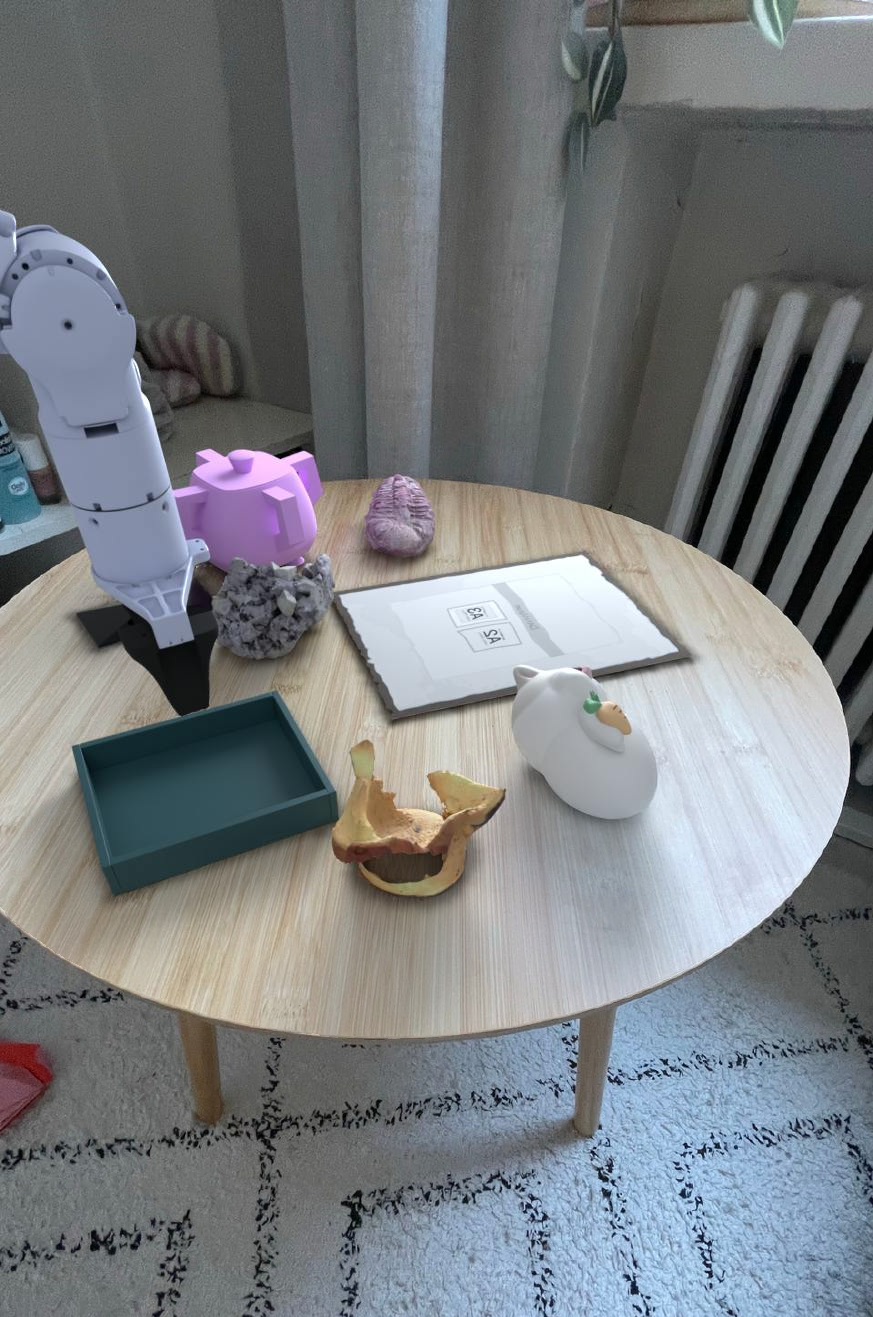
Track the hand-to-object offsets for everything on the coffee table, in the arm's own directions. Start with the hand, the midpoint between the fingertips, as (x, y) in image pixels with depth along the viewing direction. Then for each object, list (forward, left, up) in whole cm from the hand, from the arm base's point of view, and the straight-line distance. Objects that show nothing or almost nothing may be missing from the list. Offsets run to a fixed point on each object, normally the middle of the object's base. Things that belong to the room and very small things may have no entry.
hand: (179, 678), depth 54 cm
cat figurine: (+26, -13, -10) cm, 30 cm away
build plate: (+1, +25, -10) cm, 27 cm away
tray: (0, -3, -9) cm, 10 cm away
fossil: (+31, +30, -10) cm, 45 cm away
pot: (+14, +31, -10) cm, 36 cm away
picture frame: (+32, +8, -9) cm, 35 cm away
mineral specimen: (+11, +15, -10) cm, 21 cm away
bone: (+11, -15, -10) cm, 21 cm away
